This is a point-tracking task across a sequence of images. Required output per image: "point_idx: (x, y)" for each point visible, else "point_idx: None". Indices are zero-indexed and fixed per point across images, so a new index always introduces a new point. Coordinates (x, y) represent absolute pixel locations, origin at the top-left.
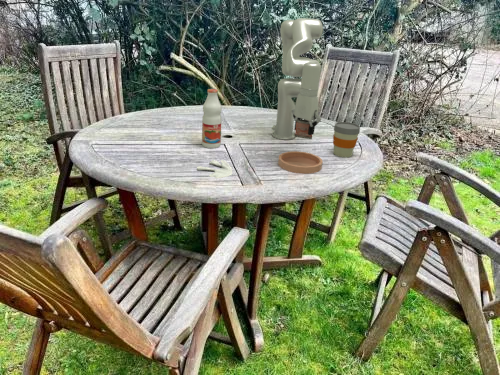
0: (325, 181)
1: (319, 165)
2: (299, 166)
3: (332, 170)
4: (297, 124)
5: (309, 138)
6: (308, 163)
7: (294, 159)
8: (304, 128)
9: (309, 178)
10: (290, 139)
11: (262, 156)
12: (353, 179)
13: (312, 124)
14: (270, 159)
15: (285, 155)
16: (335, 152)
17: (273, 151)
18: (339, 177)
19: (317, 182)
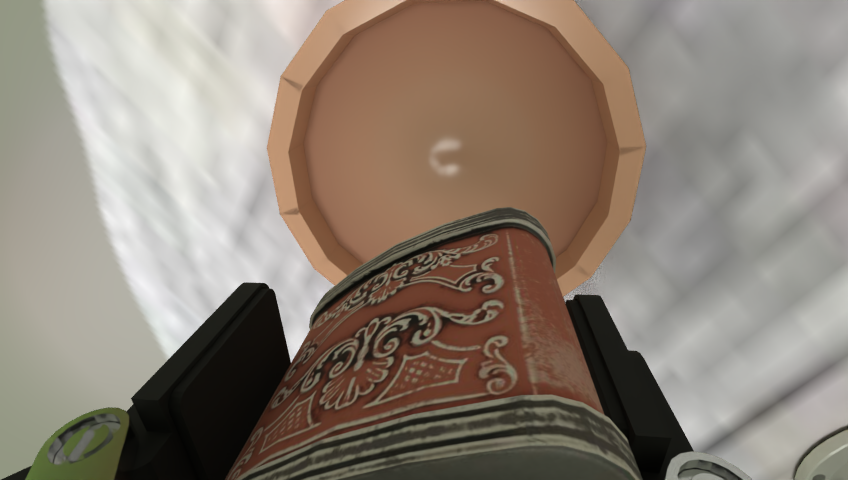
0: (145, 95)
1: (279, 206)
2: (321, 36)
3: (277, 273)
4: (518, 352)
5: (324, 297)
6: (413, 222)
7: (530, 196)
8: (354, 355)
9: (222, 29)
10: (804, 458)
11: (809, 23)
12: (131, 265)
13: (41, 470)
14: (697, 39)
15: (610, 165)
16: None
17: (786, 206)
18: (176, 224)
19: (144, 26)
